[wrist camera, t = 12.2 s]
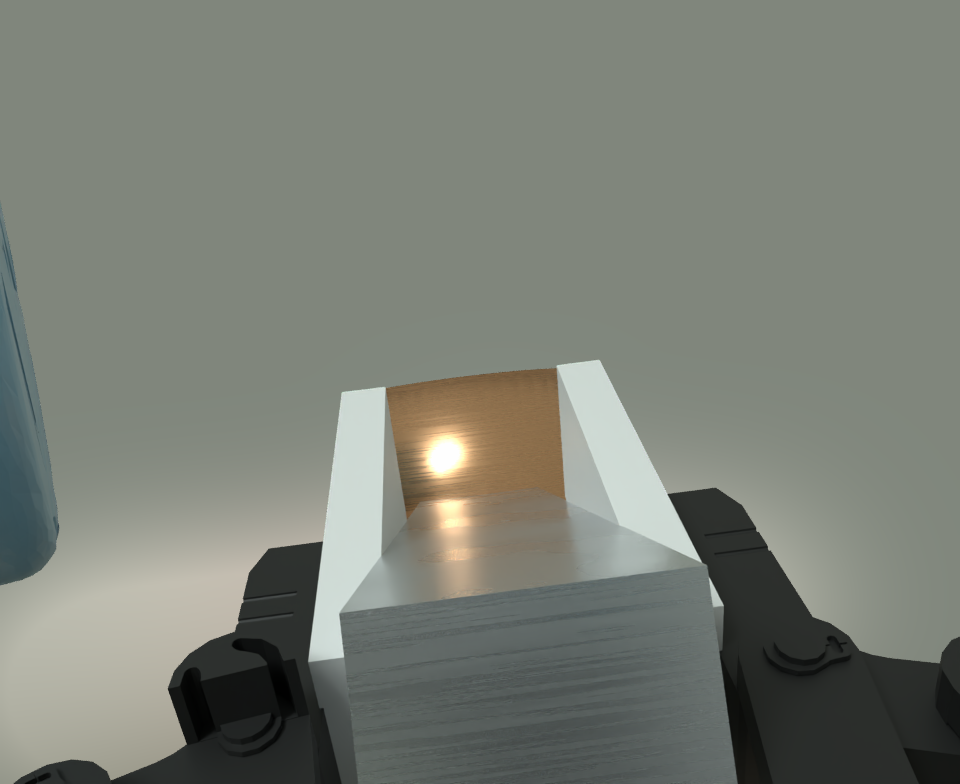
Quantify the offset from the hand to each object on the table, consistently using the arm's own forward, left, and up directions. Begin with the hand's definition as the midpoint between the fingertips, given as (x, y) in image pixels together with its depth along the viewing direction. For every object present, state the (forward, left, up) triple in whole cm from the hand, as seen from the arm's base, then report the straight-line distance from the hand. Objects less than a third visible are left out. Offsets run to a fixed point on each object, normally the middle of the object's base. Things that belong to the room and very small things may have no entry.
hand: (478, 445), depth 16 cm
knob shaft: (0, +2, -4) cm, 5 cm away
